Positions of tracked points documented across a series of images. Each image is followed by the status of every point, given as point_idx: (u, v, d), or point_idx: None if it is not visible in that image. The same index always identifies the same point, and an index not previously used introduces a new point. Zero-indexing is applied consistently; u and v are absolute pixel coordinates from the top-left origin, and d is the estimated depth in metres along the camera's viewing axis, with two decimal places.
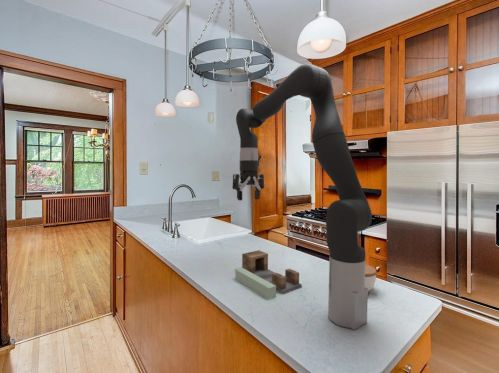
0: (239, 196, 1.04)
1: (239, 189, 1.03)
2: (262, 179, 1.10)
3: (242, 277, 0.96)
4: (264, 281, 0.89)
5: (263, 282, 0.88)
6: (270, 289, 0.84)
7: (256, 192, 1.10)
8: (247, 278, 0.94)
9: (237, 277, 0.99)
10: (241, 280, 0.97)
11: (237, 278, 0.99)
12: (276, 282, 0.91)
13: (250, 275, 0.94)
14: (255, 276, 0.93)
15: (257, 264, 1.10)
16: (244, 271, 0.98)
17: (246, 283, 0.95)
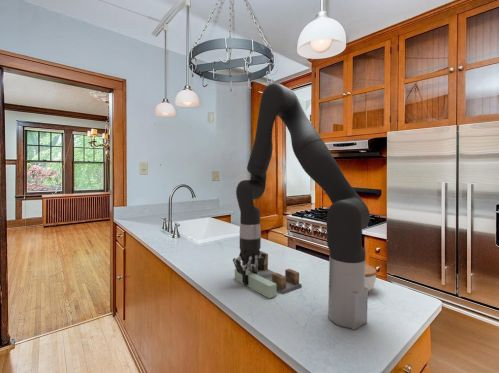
0: (245, 281, 0.93)
1: (245, 273, 0.92)
2: (263, 259, 0.97)
3: None
4: (264, 279, 0.89)
5: (263, 280, 0.88)
6: (271, 287, 0.85)
7: None
8: None
9: (236, 277, 0.99)
10: (241, 279, 0.97)
11: (236, 278, 0.99)
12: (276, 282, 0.91)
13: (250, 274, 0.94)
14: (255, 275, 0.93)
15: None
16: None
17: None
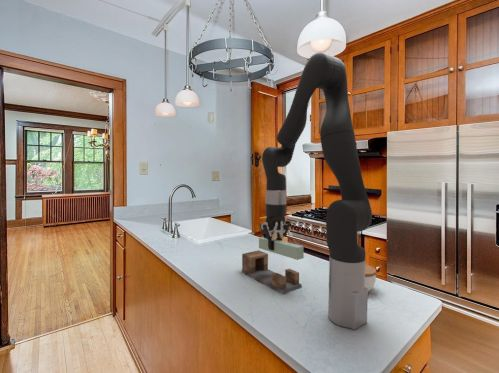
0: (271, 246, 0.95)
1: (271, 239, 0.94)
2: (287, 226, 0.99)
3: (266, 244, 0.98)
4: (290, 244, 0.91)
5: (290, 244, 0.91)
6: (298, 248, 0.87)
7: None
8: None
9: (261, 245, 1.01)
10: (266, 247, 0.99)
11: (261, 246, 1.01)
12: (276, 282, 0.91)
13: (275, 241, 0.96)
14: (280, 241, 0.96)
15: (257, 264, 1.10)
16: None
17: None
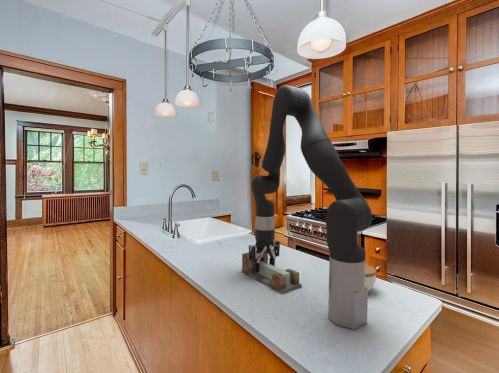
0: (256, 268, 0.99)
1: (256, 261, 0.98)
2: (278, 246, 1.05)
3: None
4: (278, 269, 0.97)
5: (278, 270, 0.96)
6: (285, 275, 0.92)
7: (271, 260, 1.04)
8: (262, 267, 1.01)
9: None
10: None
11: None
12: (276, 282, 0.91)
13: (264, 264, 1.02)
14: (269, 265, 1.01)
15: None
16: None
17: (260, 271, 1.02)
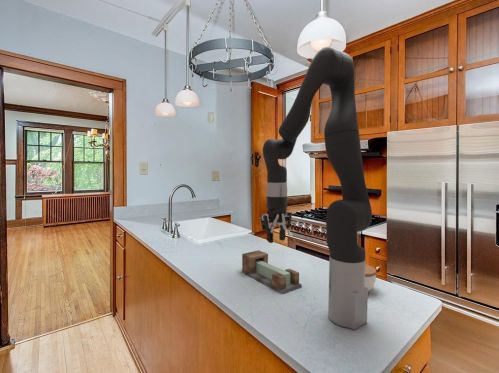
0: (270, 238, 0.94)
1: (270, 231, 0.93)
2: (290, 218, 0.99)
3: (256, 267, 1.04)
4: (278, 269, 0.97)
5: (278, 270, 0.96)
6: (285, 275, 0.92)
7: (281, 232, 0.98)
8: (262, 267, 1.01)
9: None
10: (255, 269, 1.04)
11: None
12: (276, 282, 0.91)
13: (264, 264, 1.02)
14: (269, 265, 1.01)
15: None
16: (258, 261, 1.05)
17: (260, 271, 1.02)
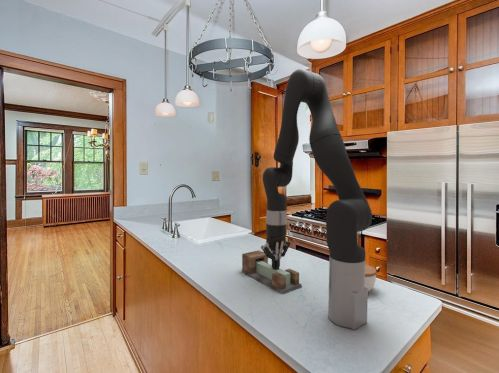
0: (274, 265, 0.96)
1: (275, 258, 0.95)
2: (287, 247, 0.98)
3: (256, 267, 1.04)
4: (278, 269, 0.97)
5: (278, 270, 0.96)
6: (285, 275, 0.92)
7: None
8: (262, 267, 1.01)
9: None
10: (255, 269, 1.04)
11: None
12: (276, 282, 0.91)
13: (264, 264, 1.02)
14: (269, 265, 1.01)
15: None
16: (258, 261, 1.05)
17: (260, 271, 1.02)
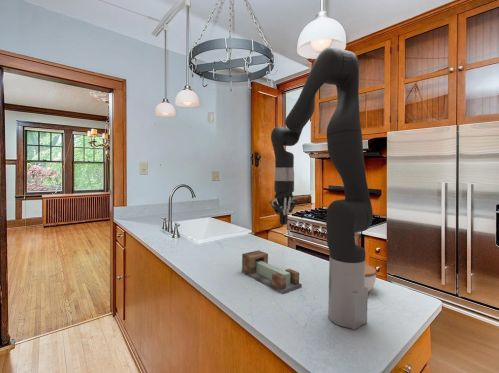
0: (282, 220, 1.01)
1: (283, 213, 1.00)
2: (294, 204, 1.04)
3: (256, 267, 1.04)
4: (278, 269, 0.97)
5: (278, 270, 0.96)
6: (285, 275, 0.92)
7: None
8: (262, 267, 1.01)
9: None
10: (255, 269, 1.04)
11: None
12: (276, 282, 0.91)
13: (264, 264, 1.02)
14: (269, 265, 1.01)
15: None
16: (258, 261, 1.05)
17: (260, 271, 1.02)
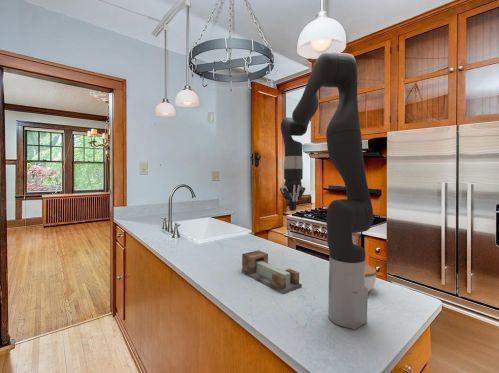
0: (291, 207, 1.06)
1: (292, 200, 1.06)
2: (302, 191, 1.09)
3: (256, 267, 1.04)
4: (278, 269, 0.97)
5: (278, 270, 0.96)
6: (285, 275, 0.92)
7: None
8: (262, 267, 1.01)
9: None
10: (255, 269, 1.04)
11: None
12: (276, 282, 0.91)
13: (264, 264, 1.02)
14: (269, 265, 1.01)
15: None
16: (258, 261, 1.05)
17: (260, 271, 1.02)
